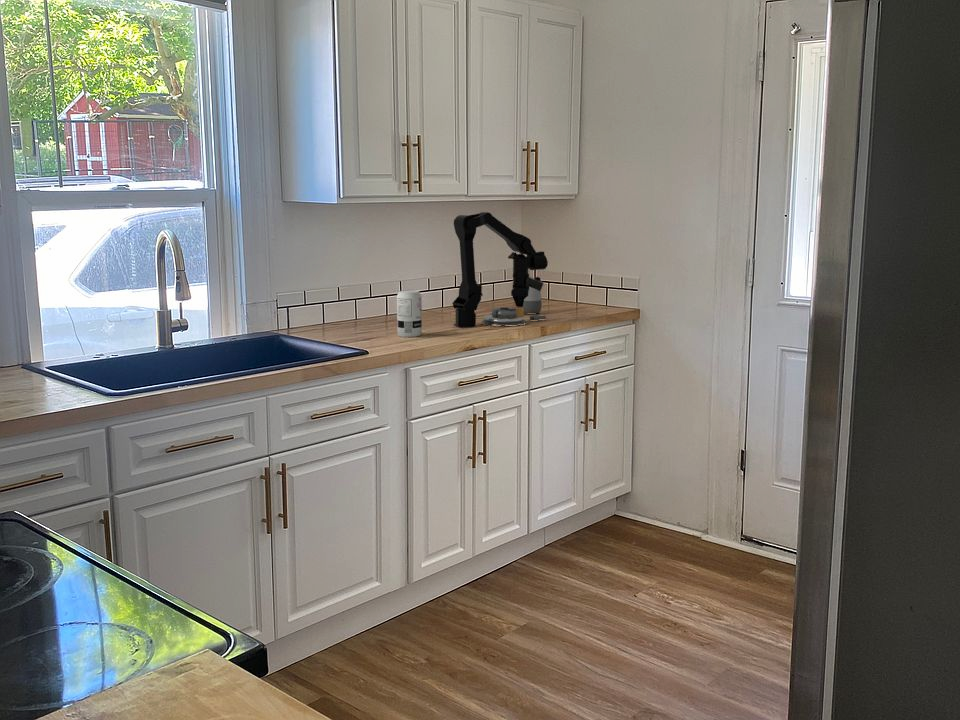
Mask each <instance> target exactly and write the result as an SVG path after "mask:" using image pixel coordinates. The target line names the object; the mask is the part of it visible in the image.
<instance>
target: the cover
mask: <svg viewBox="0 0 960 720" xmlns="http://www.w3.org/2000/svg"><path fill="white" fill-rule="evenodd" d="M491 315H492V317H493V318H499V319H508V318H510V319H511V318H516V315H517V307H515V308H514V307H507V306H504V307H502V306H501V307H493V308H492V309H491Z"/></svg>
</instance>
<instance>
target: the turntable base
mask: <svg viewBox="0 0 960 720" xmlns="http://www.w3.org/2000/svg"><path fill="white" fill-rule="evenodd" d="M526 322H527V321H526V320H525V319H524V321H523V322H517V323H493V322H487V321H484V319H482V321H481V323H484V324H488V325H501V326H505V325H518V324H524V323H526ZM484 324H483V325H484ZM526 324H527V323H526Z"/></svg>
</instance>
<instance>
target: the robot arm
mask: <svg viewBox="0 0 960 720" xmlns="http://www.w3.org/2000/svg"><path fill="white" fill-rule="evenodd" d="M482 226H485V227H487V228H488V229H490V230H491V231H492V232H493V233H495V234H496V235H498V236H499V237H500V238H502V239H503V240H504V241H505V242H506V244H507V246H508V247H509V248H510V249H511V250H512V252H511V253H510V254H509V255H508V256H507V259H509V260H510V259H511V260H512V289H511V292H510V293H511V294H510V296H511V297H512V299H513V302H514V304H515V306H516V307H515V308H517V307H520V306H522V307H523V303H524V299H525V298H526V297H527V296H528V294H529V293H528V291H529V287H531V288H534V289H537V290H538V291H541V292H542V288H543V286H544V282H543V281H541V280H542V279H541V277H539V276H535V277H531V276H530V273H529V270H530V271H539V270H540V271H541V270H546V269H547V268H548V264H549V261H548V259H547V256H546V255H545V251H542V250H539V251H536V250H535V248H534V246H533V245H532V240H531V239H530V238H529V237H527V236H525V235H524V234H520V233H518V232H516V231H514V230H513V229H511V228H510V227H508V226H507V225H506V224H505V223H503V222H502V221H500V220H499V219H497V218H496V217H495V216H494V215H492V213H490V212H487V211H486V212H485V211H480V212H479V213H475V214H474V213H473V214H469V215H467V214H459V215H457V216H456V217H455V218H454V220H453V228H454V232H455V234H456V236H457V239H458V241H459V252H460V264H461V265H460V266H461V268H460V269H461V283H460V284H459V288H458V295H457V297H456V298H455V299H454V301H453V302H452V306H453V309H455V323H453V326H455V327H458V328H472V327H473V328H475V327H474V326H476V327H477V313H476V312H475V311H477V309H478V306H479V304H480V302H481V300H482V297H483V296H484V295H483V292H482V290H483V286H482V284H480V283H478V282H477V281H476V280H477V279H476V269H475V252H474V251H475V250H474V239H475V236H476V233H477V228H479V227H482ZM525 255H526V256H525Z"/></svg>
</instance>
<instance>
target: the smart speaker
mask: <svg viewBox="0 0 960 720" xmlns="http://www.w3.org/2000/svg"><path fill="white" fill-rule="evenodd" d="M528 293H529V294H528V296H527V297H526V298H525V299H524V303H523V307H524V313H538V314H540V312H541V311H542V305H543V304H542V290H541V291H538V290H537V289H534V288H531V287H529V291H528Z"/></svg>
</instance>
